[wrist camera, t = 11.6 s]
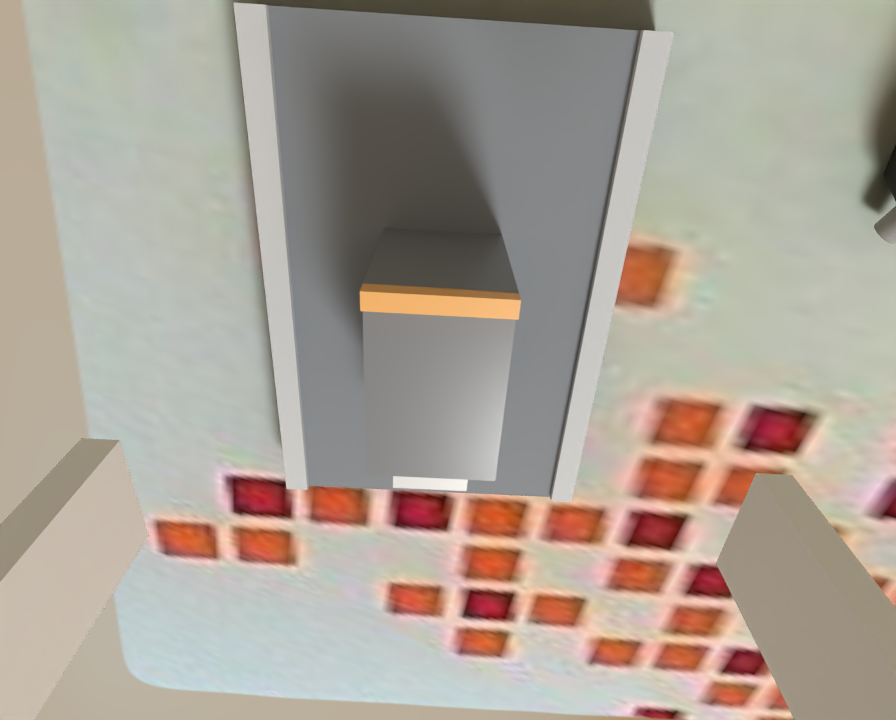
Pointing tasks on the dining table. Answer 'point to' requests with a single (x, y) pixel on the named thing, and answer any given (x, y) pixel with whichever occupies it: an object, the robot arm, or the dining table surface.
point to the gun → (892, 224)
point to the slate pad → (443, 206)
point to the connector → (436, 356)
